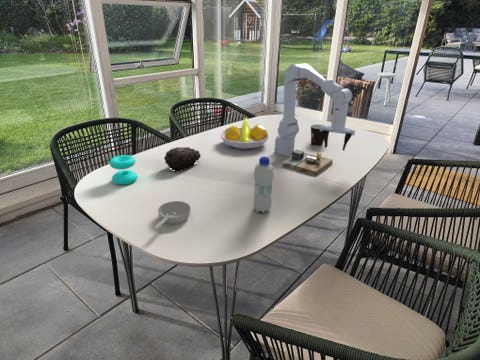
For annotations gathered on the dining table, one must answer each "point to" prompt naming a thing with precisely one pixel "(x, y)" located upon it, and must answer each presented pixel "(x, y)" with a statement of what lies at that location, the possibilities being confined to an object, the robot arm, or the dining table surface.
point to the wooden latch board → (307, 164)
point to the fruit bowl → (245, 136)
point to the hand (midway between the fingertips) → (334, 148)
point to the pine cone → (181, 158)
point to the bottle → (263, 185)
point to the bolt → (317, 159)
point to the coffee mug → (316, 135)
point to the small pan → (172, 218)
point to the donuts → (124, 175)
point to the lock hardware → (300, 156)
